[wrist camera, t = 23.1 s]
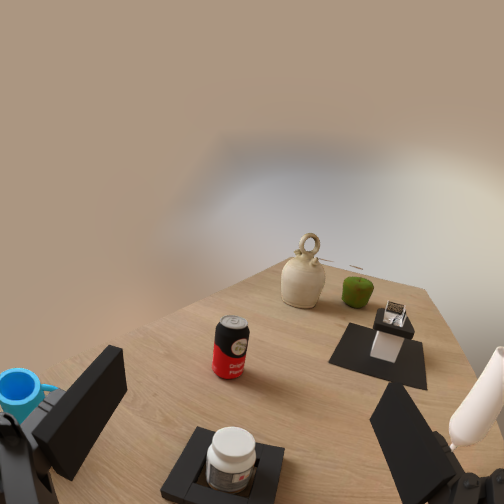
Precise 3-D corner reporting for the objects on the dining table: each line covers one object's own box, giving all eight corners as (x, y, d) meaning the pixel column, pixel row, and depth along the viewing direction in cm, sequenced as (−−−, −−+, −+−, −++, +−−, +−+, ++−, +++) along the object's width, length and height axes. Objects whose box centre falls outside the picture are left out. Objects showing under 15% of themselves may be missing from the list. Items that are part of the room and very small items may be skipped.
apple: (346, 296, 109) (352, 270, 107) (372, 306, 101) (379, 279, 99) (333, 303, 100) (340, 274, 98) (361, 313, 92) (369, 284, 90)
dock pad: (161, 497, 21) (159, 489, 21) (196, 435, 34) (197, 425, 33) (265, 526, 19) (269, 521, 18) (281, 456, 31) (284, 447, 31)
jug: (275, 291, 104) (287, 227, 99) (314, 296, 104) (327, 233, 99) (278, 307, 89) (292, 232, 84) (323, 312, 89) (339, 240, 84)
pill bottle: (257, 484, 26) (271, 446, 24) (220, 501, 22) (227, 468, 20) (232, 458, 30) (240, 417, 28) (197, 472, 27) (198, 432, 25)
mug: (16, 445, 18) (-6, 407, 17) (10, 408, 24) (-7, 370, 22) (82, 434, 27) (69, 397, 25) (68, 399, 32) (58, 362, 31)
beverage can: (208, 377, 49) (213, 325, 46) (215, 360, 55) (220, 311, 52) (240, 384, 48) (249, 332, 46) (244, 366, 54) (252, 317, 52)
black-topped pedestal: (426, 390, 47) (450, 341, 44) (328, 362, 59) (343, 312, 56) (421, 342, 71) (435, 304, 69) (349, 322, 83) (360, 284, 81)
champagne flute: (399, 489, 23) (492, 359, 18) (412, 462, 28) (487, 338, 23) (432, 500, 18) (533, 373, 13) (442, 472, 23) (524, 350, 18)
